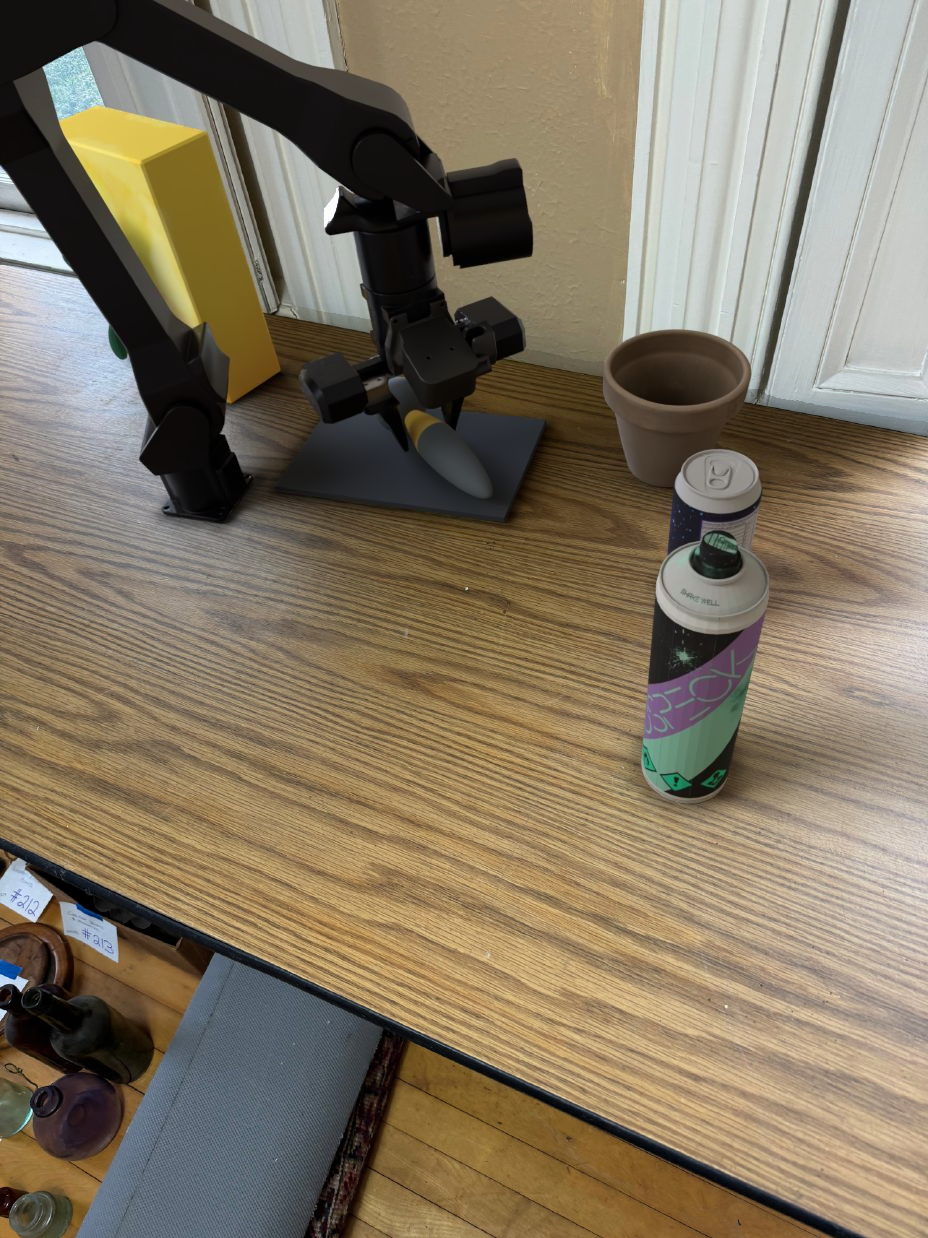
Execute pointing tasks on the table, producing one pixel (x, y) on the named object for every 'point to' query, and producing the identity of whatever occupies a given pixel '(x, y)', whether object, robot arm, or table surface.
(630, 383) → the flower pot
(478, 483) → the paintbrush
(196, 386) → the robot arm
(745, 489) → the beverage can
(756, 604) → the spray can
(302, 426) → the table surface
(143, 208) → the mottled yellow carton
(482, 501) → the mat
